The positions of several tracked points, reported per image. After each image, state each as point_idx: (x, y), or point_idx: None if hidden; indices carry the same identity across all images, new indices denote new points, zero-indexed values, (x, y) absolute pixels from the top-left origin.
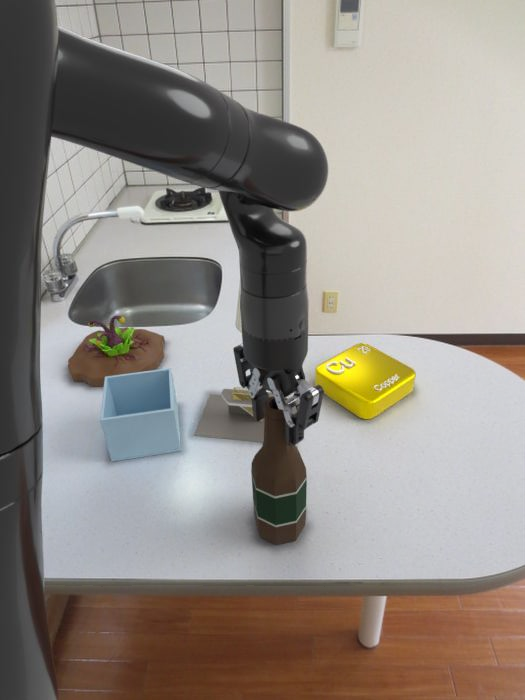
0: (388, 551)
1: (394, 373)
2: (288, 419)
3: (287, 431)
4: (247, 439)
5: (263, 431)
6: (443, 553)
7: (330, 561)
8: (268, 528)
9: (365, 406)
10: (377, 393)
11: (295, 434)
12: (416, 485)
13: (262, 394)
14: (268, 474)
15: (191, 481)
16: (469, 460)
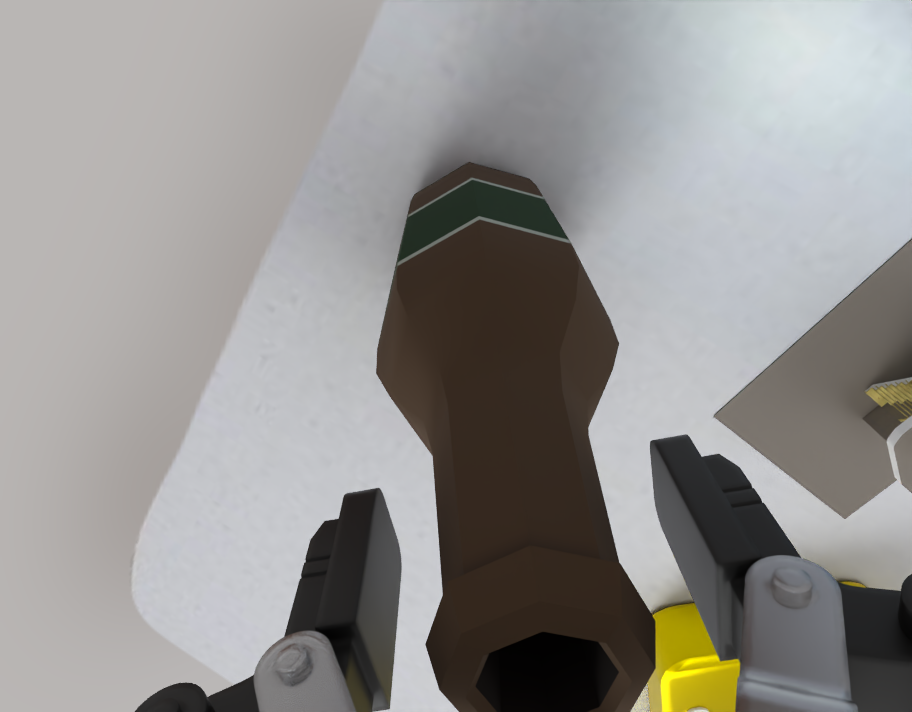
0: (266, 434)
1: None
2: (301, 687)
3: (344, 573)
4: (835, 314)
5: (825, 373)
6: (213, 525)
7: (301, 299)
8: (435, 193)
9: (670, 652)
10: (681, 703)
11: (297, 596)
12: (402, 585)
13: (736, 633)
14: (437, 297)
15: (820, 47)
16: (403, 701)
